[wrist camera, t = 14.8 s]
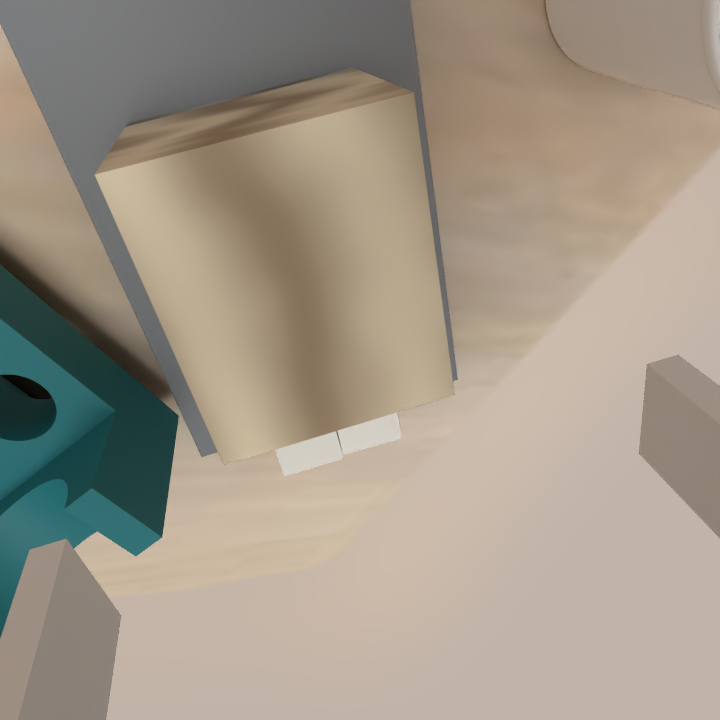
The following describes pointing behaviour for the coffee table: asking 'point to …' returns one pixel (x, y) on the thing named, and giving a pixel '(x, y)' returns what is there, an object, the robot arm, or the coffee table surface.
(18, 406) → the teal l-shaped bracket
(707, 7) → the candle holder
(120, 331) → the coffee table surface
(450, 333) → the board
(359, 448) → the cream flat square
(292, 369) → the block
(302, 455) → the white square tile
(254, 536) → the coffee table surface
